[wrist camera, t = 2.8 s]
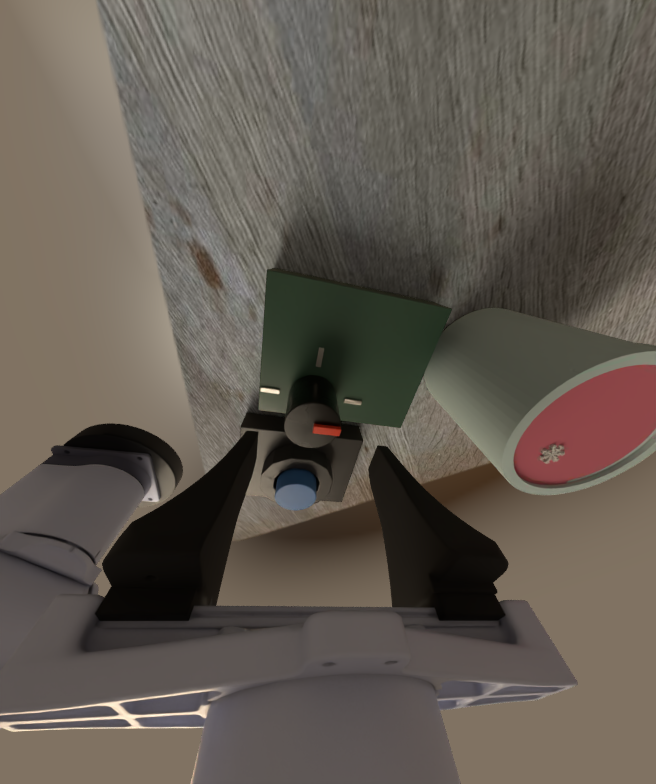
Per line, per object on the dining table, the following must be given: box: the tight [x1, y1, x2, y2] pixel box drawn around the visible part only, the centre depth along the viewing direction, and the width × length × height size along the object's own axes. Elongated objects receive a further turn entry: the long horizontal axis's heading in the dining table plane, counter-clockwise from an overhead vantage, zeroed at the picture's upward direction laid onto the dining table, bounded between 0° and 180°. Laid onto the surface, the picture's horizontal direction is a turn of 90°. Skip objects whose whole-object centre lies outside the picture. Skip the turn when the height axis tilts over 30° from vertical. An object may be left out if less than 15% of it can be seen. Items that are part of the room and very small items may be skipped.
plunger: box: [275, 468, 316, 510], centre depth 21 cm, size 4×4×2 cm
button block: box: [240, 413, 363, 504], centre depth 23 cm, size 11×9×4 cm
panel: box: [258, 268, 452, 428], centre depth 19 cm, size 12×12×3 cm
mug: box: [424, 308, 656, 495], centre depth 16 cm, size 14×9×10 cm
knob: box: [284, 375, 341, 448], centre depth 16 cm, size 4×4×4 cm
